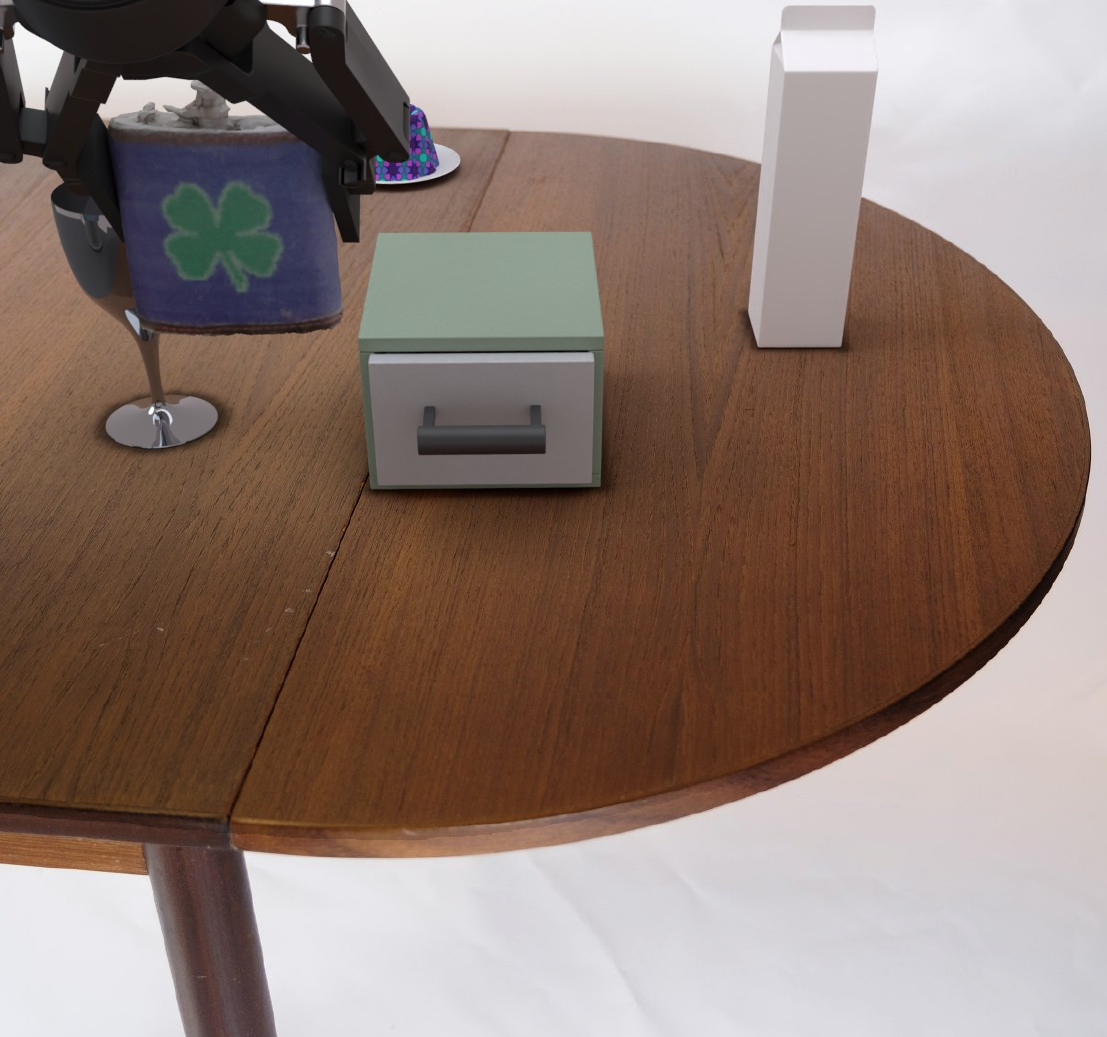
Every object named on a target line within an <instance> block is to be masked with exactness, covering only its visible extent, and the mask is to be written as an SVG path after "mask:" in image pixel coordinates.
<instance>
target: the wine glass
mask: <svg viewBox="0 0 1107 1037" xmlns="http://www.w3.org/2000/svg"><path fill="white" fill-rule="evenodd" d="M50 204H51V208H52V214H53V218H54V224H55V228H56V232H57V235H58V238H59V244H60V245H61V248H62V252H63V253H64V256H65V259H66V261H67V264H68V266H69V268H70V270H71V273H72V274H73V277H74V279H75V281H76V282H77V284H78V286H79V288H80V289H81V290H82V292H83V294H85V295H86V296H87V297H88V298H89V299H90V300H91V302H93V304H95V305H96V306H98V307H99V308H100V309H101V310H102V311H104V312H106V313H107V314H108V315H109V316H111V317H112V318H113V319H115V321H117V322H119V323H120V324H121V325H122V326H123V327H124V328H125V329H126V330H127V332H128V333H129V334H130V335H131V336H132V338H133V339H134V341H135V342H136V345H137V348H138V350H139V353H140V355H141V359H142V361H143V365H144V369H145V372H146V376H147V380H148V385H149V390H150V396H149V397H145V398H140V399H138V400H134V401H131V402H129V403H127V404H125V405H122V406H120V407H119V408H118V409H116V410H115V411H113V412H112V413H111V414H110V415H109V417H108V418H107V419H106V422H105V432H106V434H107V436H108V437H110V438H111V440H113V441H115V442H116V443H118V444H121V445H124V446H128V447H132V448H139V449H161V448H170V447H175V446H180V445H184V444H187V443H190V442H193V441H195V440H197V439H200V438H201V437H203V436H205V435H206V434H208V433H209V432H211V431H212V430H213V429H214V427H215V426H216V425H217V423H218V421H219V413H218V411H217V409H216V407H215V406H214V405H212V403H210V402H208V401H207V400H204V399H201V398H199V397H196V396H192V395H183V394H165V392H164V388H163V383H162V376H161V367H160V338H161V333H152V332H150V331H148V330H146V329H144V330H143V329H142V327H141V322H140V319H139V316H138V313H137V307H136V302H135V299H134V295H133V288H132V285H131V279H130V273H129V264H128V260H127V254H126V252H127V249H126V244H125V243H122V241H121V240H120V238H119V237H118V235H117V234H116V232H115V231H114V229H113V228H112V226H111V225H110V223H109V222H108V221H107V219H106V218H105V216H104V215H103V213H102V212H101V210H100V209H99V207H98V206H97V204H96V203H95V201H94V200H93V198H92V197H91V196H78V195H76V194H75V193H73V192H72V191H70V190H69V189H68V187H67V186H66V184H65V183H64V182H62V183H61V184H59V185H57V186H56V187H55V188H54V189H53V190H52V191H51V193H50Z"/></svg>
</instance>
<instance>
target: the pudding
mask: <svg viewBox="0 0 1107 1037" xmlns="http://www.w3.org/2000/svg"><path fill="white" fill-rule="evenodd" d="M426 115H427V114H426V113H425V112H424V110H423V109H422V108H421V107H418V106H416V105H415V104H412V103H410V157H409V159H408V160H407V161H405V162H403V163H389V162H386V161H383V160H382V159H381V158H380V157H379V156H376V185H377V184H378V185H403V184H412V183H419V182H425V181H429V180H433V179H436V178H440V177H442V176H445V175H447V174H449V173H451V172H453V171H454V170H455V169H457V168H458V166H459V165H460V163H461V157H460V155H459V154H458V153H457V151H455V150H454V149H452V148H450V147H448V146H445V145H442V144H438V143H435V142H434V138H433V136H432V133H431V130H430V125H429V122H428V118H427V116H426Z"/></svg>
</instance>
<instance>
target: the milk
mask: <svg viewBox="0 0 1107 1037" xmlns="http://www.w3.org/2000/svg"><path fill="white" fill-rule="evenodd" d="M876 12H877V9H876V7H875V6H874V5H872V4H787V5H785V6H784V7H783V8H782V11H781V17H780V18H781V19H780V29H779V31H778V33H777V36H776V37H775V39H774V41H773V43H772V45H771V52H770V63H769V64H770V65H769V74H768V87H767V97H766V108H765V119H764V129H763V141H762V152H761V162H760V163H761V165H760V176H759V187H758V196H757V209H756V218H755V231H754V242H753V243H754V244H753V253H752V263H751V264H752V265H751V275H750V286H749V295H748V296H749V298H748V309H747V311H748V312H747V314H748V318H749V320H750V324H751V328H752V331H753V334H754V338H755V341H756V345H757V348H841V347H842V344H843V338H844V337H843V336H844V330H845V321H846V314H847V308H848V307H847V306H848V300H849V292H850V285H851V284H850V283H851V277H852V269H853V262H854V256H855V247H856V239H857V232H858V223H859V217H860V209H861V201H862V194H863V186H864V178H865V172H866V164H867V156H868V148H869V141H870V134H871V127H872V118H873V112H874V111H873V110H874V105H875V98H876V89H877V81H878V73H879V66H878V57H877V50H876V41H875V32H874V29H875V22H876Z"/></svg>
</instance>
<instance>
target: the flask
mask: <svg viewBox="0 0 1107 1037" xmlns="http://www.w3.org/2000/svg"><path fill="white" fill-rule="evenodd" d="M190 88H191V89H192V90H194V91H196V93H195V94H196V95H195V99H194V100H192V101H191V102H189V103H188V104H186V105H185V106H184V107H182V108H179V107H175V106H174V105H168V104H162V107H163V108H164V110H165V111H159V110H158V109H156V102H153V101H148V102H147V103H146V104H145V105H143V107H142V109H141V110H139V111H134V112H127V113H121V114H119V115H117V116H114V117H111V118H110V120H109V121H108V125H107V136H108V146H109V151H110V155H111V162H112V168H113V173H114V181H115V186H116V191H117V198H118V203H119V208H120V213H121V222H122V229H123V234H124V238H125V244H126V249H127V252H126V254H127V260H128V264H129V273H130V279H131V285H132V288H133V295H134V299H135V302H136V307H137V313H138V316H139V319H140V322H141V327H142V329H143V330H144V329H146V330H148V331H150V332H152V333H160V335H161V334H164V335H177V336H179V335H181V336H191V337H193V336H194V337H195V336H201V337H221V336H225V337H229V336H234V335H236V334H237V335H245V336H250V337H251V336H259V335H261V336H263V335H271V336H273V335H286V334H288V335H290V334H292V333H293V334H296V335H298V334H299V335H303V334H306V335H307V334H308V333H312V332H315V331H326V332H327V331H328V330H334V329H335V328H336V327H337V326H339V325H341V322H342V318H343V316H344V310H345V308H344V302H343V294H342V293H343V292H342V283H341V277H340V276H341V275H340V267H339V256H338V255H339V253H338V250H339V249H338V248H339V247H338V236H337V232H336V226H335V217H334V213H333V210H332V207H331V204H330V201H329V198H328V195H327V192H326V189H325V185H324V182H323V179H322V176H321V168H322V155H321V154H319V153H318V152H317V151H315V150H314V149H313V148H311V147H310V146H308V145H307V144H306V143H304V142H303V141H301V140H300V139H299V138H297V137H296V136H294V135H293V134H292V133H290V132H289V131H287V130H286V129H285V128H283V127H282V126H280V125H279V124H278V123H276V122H275V121H273V120H272V119H271V118H269V117H268V116H266V115H265V114H253V115H252V114H251V115H229V113H230V111H231V107H229V105H227V100H226V99H224V98H223V97H221V96H220V95H219V94H217V93H216V92H214V91H213V90H211V89H210V88H209V87H207V86H206V85H204V84H203V83H202V82H200V81H199V80H191V82H190Z"/></svg>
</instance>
